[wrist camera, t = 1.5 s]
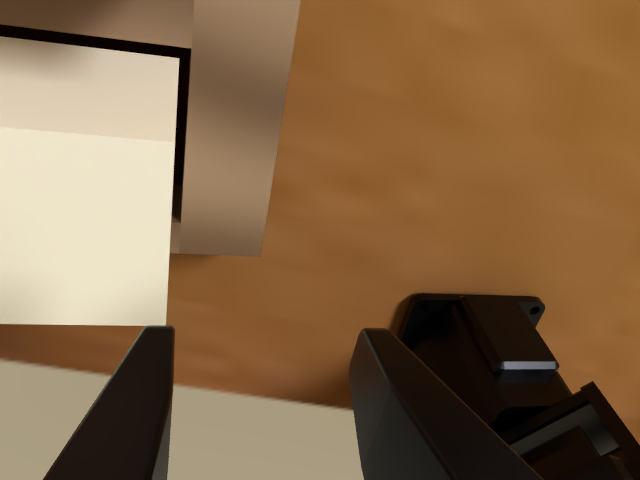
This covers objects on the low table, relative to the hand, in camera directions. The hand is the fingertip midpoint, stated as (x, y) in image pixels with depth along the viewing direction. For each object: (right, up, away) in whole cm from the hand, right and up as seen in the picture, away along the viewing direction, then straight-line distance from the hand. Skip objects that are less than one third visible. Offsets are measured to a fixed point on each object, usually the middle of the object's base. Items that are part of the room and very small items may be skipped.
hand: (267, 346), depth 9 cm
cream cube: (-6, +5, +8) cm, 11 cm away
